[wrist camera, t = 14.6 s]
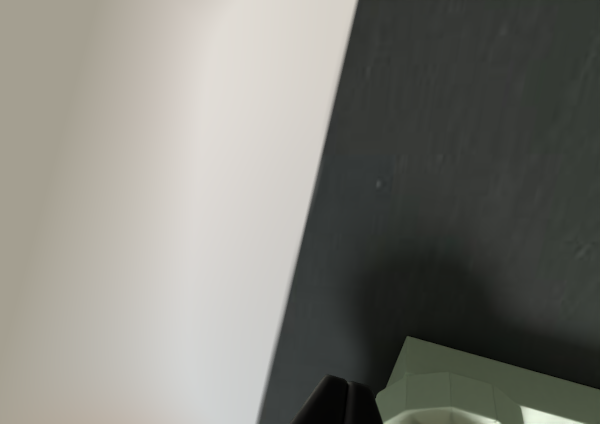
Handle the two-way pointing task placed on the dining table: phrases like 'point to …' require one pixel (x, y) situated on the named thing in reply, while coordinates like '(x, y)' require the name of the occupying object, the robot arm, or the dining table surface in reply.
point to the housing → (478, 391)
